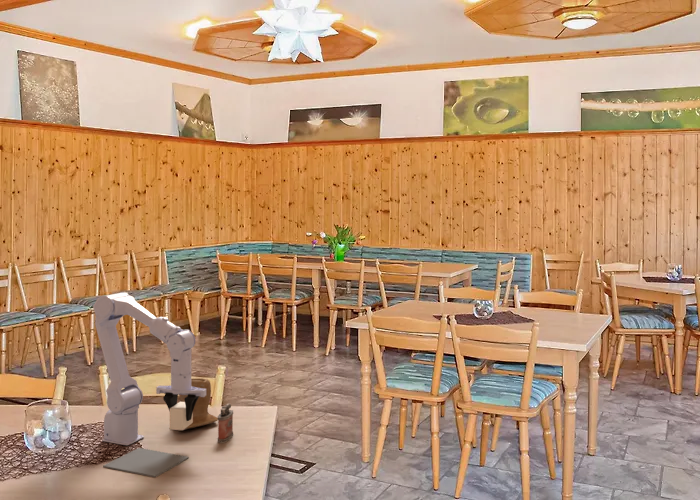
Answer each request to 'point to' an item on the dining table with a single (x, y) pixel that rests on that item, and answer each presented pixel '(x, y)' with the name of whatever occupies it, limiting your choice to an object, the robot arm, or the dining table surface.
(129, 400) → the robot arm
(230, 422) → the red patterned tin
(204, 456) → the dining table surface
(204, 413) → the brown bookend
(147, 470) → the slate mat
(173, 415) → the cream block
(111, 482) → the dining table surface
